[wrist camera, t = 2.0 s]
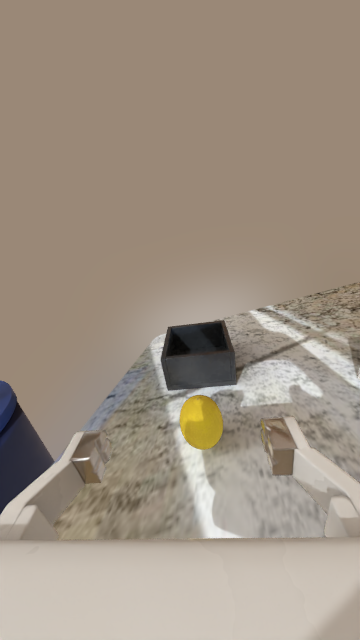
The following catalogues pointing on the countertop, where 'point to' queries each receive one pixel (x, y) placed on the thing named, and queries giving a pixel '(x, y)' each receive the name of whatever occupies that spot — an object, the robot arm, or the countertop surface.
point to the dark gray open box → (198, 356)
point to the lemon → (201, 422)
